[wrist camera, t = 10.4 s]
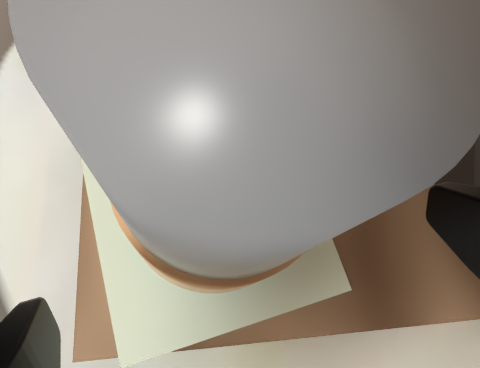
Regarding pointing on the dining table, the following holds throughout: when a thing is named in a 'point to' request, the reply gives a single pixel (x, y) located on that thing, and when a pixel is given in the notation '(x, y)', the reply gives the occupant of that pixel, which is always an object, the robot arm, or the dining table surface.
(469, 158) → the grey octagonal ring
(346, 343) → the dining table surface
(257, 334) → the walnut board
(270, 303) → the sage pad
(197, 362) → the dining table surface
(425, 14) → the two-tone cylinder
